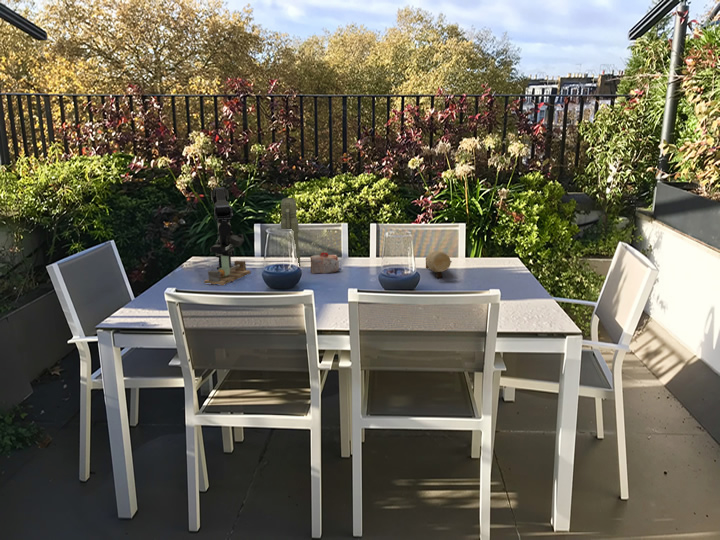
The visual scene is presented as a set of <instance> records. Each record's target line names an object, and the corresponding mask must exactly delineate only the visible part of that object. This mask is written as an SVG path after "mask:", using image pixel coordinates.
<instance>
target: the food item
mask: <svg viewBox="0 0 720 540" xmlns="http://www.w3.org/2000/svg"><path fill="white" fill-rule="evenodd" d="M339 262H340V260H339V257H338V256H337V254H329V253H328V252H320V255H319V254H317V255H316V254H315V255H311V256H310V273H311V274H313V275H314V274H331V273H336V272H338V270H339V269H340V263H339Z"/></svg>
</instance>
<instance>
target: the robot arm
mask: <svg viewBox="0 0 720 540" xmlns="http://www.w3.org/2000/svg"><path fill="white" fill-rule="evenodd" d="M210 195H211V196H210V197H211V198H210V199H211V201H212V203H213V205H214V207H213V211H214V220H215V221H216V223H217V231H218V232H217V233H216V237H217V236H218V238H217V240H216V244H214V245H212V246H210V248H209V249H210V253H212V254H213V253H215V257H216V258H218V267H216V269H217V270H219V269H220V268H222V263H221V256H229V268H231V267H233V266H234V265H232V257H234V256H235V248H239V247H240V246H243V242H245V236H244V234H242V233H241V234H238V235H235V234H234V232H233V231H232V226H231V220H233V217H234V214H233V207H232V206H231V205H230V202H229V201H228V200H229V198H230V196H229V189H226V188H225V186H216V187H214V188H213V189H211V191H210Z"/></svg>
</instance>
